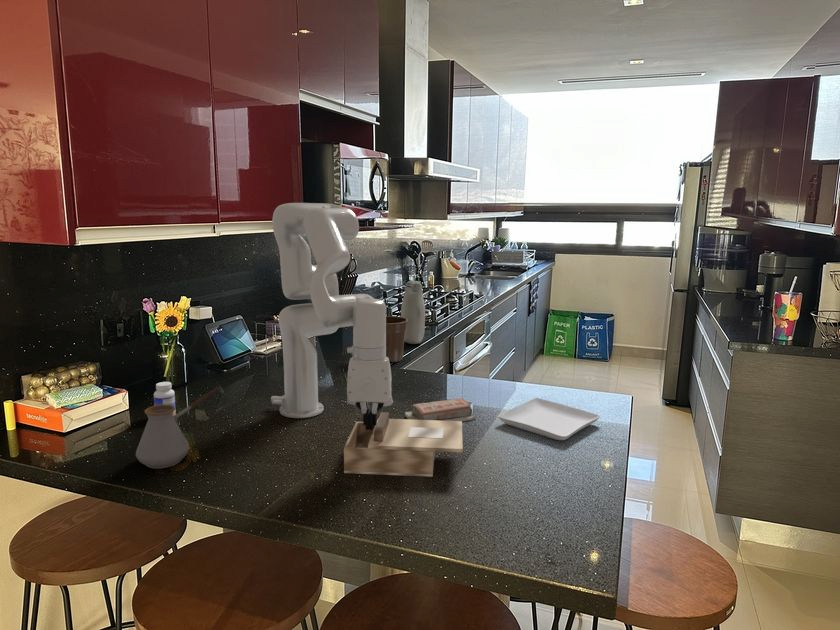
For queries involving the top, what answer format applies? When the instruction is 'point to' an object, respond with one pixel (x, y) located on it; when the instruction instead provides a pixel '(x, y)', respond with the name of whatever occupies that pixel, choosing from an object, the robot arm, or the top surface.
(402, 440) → the lid
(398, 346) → the plant pot
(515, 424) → the salad plate
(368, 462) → the mailer box
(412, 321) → the glass bottle
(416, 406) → the packaged product
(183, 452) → the coffee pot
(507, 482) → the top surface
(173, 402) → the pill bottle
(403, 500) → the top surface
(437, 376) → the top surface
